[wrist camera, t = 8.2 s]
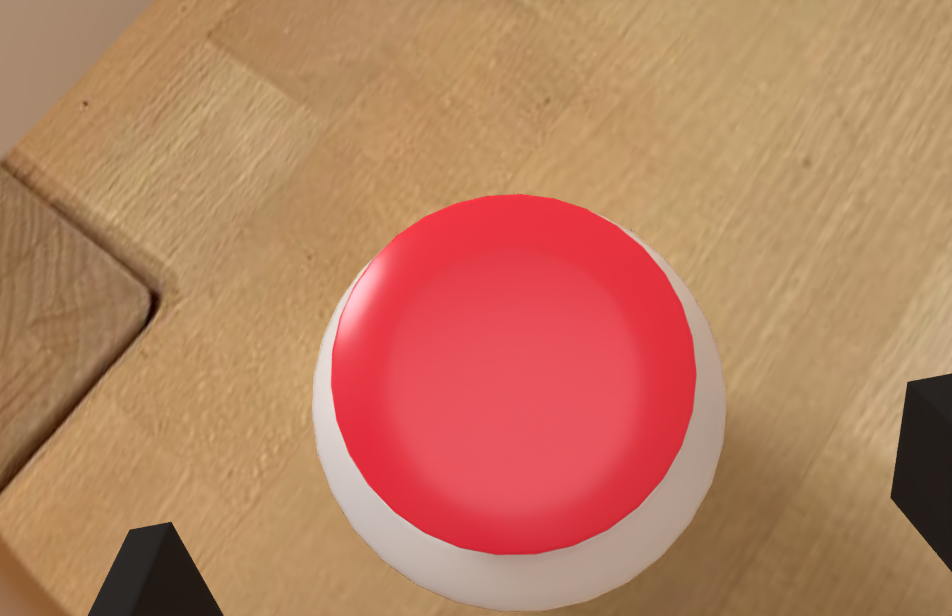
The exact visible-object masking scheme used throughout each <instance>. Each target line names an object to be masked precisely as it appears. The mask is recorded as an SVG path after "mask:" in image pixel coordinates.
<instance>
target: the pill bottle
mask: <svg viewBox="0 0 952 616" xmlns="http://www.w3.org/2000/svg"><path fill="white" fill-rule="evenodd" d="M726 408H727V400H726V391H725V383H724V374H723V366H722V360H721V357H720V354H719V351H718V348H717V344H716V341H715V338H714V335H713V332H712V329H711V326H710V323H709V321H708V319H707V317H706V316H705V314H704V312H703V310H702V308H701V307H700V305H699V303H698V301H697V300H696V298H695V296H694V294H693V292H692V291H691V289H690V287H689V286H688V285H687V284H686V282H685V281H684V280H683V279H682V278H681V277H680V275H679V274H678V273H677V272H676V271H675V269H674V268H673V267H672V266H671V265H670V264H669V262H668V261H667V260H666V259H665V258H664V257H663V256H662V255H661V254H659V253H658V252H657V251H656V250H655V249H653V248H652V247H651V246H650V245H648V244H647V243H646V242H645V241H643V240H642V239H641V238H640V237H639V236H637V235H636V234H635V233H633V232H631V231H630V230H628V229H626V228H624V227H622V226H620V225H619V224H617V223H615V222H613V221H611V220H609V219H607V218H606V217H604V216H602V215H600V214H597V213H594V212H591V211H589V210H587V209H585V208H582V207H579V206H576V205H573V204H569V203H566V202H563V201H560V200H557V199H554V198H546V197H538V196H530V195H523V194H516V195H497V196H485V197H481V198H477V199H473V200H468V201H464V202H460V203H456V204H453V205H451V206H449V207H446V208H444V209H442V210H439V211H437V212H435V213H433V214H430V215H428V216H426V217H424V218H422V219H421V220H419V221H418V222H416V223H415V224H413V225H412V226H410V227H409V228H407V229H406V230H405V231H403V232H402V233H400V234H399V235H397V236H396V237H395V238H394V239H393V240H392V241H391V242H390V243H389V244H387V245H386V246H385V247H384V248H383V249H382V250H381V251H380V252H379V253H378V254H377V255H376V256H375V257H374V258H373V259H372V260H371V261H370V262H369V263H368V264H367V265H366V266H365V267H364V268H363V269H362V270H361V271H360V272H359V274H358V275H357V276H356V278H355V279H354V281H353V282H352V284H351V285H350V286H349V288H348V289H347V291H346V292H345V294H344V295H343V296H342V298H341V299H340V301H339V302H338V304H337V307H336V309H335V311H334V313H333V316H332V318H331V320H330V322H329V324H328V327H327V329H326V331H325V333H324V336H323V338H322V342H321V347H320V351H319V355H318V359H317V363H316V367H315V372H314V379H313V402H312V418H313V425H314V432H315V438H316V445H317V451H318V456H319V459H320V462H321V464H322V467H323V470H324V473H325V476H326V478H327V481H328V484H329V487H330V489H331V492H332V495H333V496H334V498H335V500H336V501H337V503H338V504H339V506H340V508H341V509H342V511H343V513H344V514H345V516H346V518H347V519H348V521H349V523H350V524H351V526H352V528H353V529H354V530H355V532H356V533H357V534H358V535H359V536H360V537H361V538H362V539H363V540H364V541H365V542H366V543H367V544H368V546H369V547H370V548H371V549H372V550H373V551H374V552H375V553H376V554H377V555H378V556H379V557H380V559H381V560H382V561H384V562H385V563H386V564H388V565H389V566H391V567H392V568H393V569H395V570H396V571H398V572H399V573H400V574H402V575H403V576H405V577H406V578H407V579H409V580H410V581H412V582H413V583H415V584H416V585H417V586H420V587H422V588H424V589H426V590H429V591H431V592H433V593H436V594H438V595H440V596H442V597H445V598H447V599H449V600H452V601H454V602H456V603H460V604H465V605H469V606H474V607H479V608H484V609H489V610H494V611H499V612H535V611H548V610H553V609H557V608H562V607H566V606H570V605H575V604H579V603H584V602H588V601H590V600H592V599H594V598H596V597H598V596H601V595H603V594H605V593H607V592H609V591H611V590H614V589H616V588H618V587H620V586H622V585H624V584H626V583H628V582H629V581H631V580H632V579H633V578H635V577H636V576H637V575H639V574H640V573H641V572H643V571H644V570H645V569H647V568H648V567H649V566H651V565H652V564H653V563H654V562H656V561H657V560H658V559H660V558H661V557H662V556H663V555H664V554H665V553H666V552H667V550H668V549H669V548H670V547H671V546H672V545H673V543H674V542H675V541H676V540H677V539H678V538H679V537H680V535H681V534H682V533H683V532H684V531H685V530H686V528H687V527H688V526H689V525H690V524H691V522H692V520H693V518H694V516H695V515H696V513H697V511H698V509H699V507H700V505H701V504H702V502H703V500H704V498H705V496H706V494H707V493H708V491H709V489H710V487H711V485H712V481H713V478H714V475H715V471H716V468H717V465H718V461H719V458H720V455H721V451H722V448H723V442H724V431H725V419H726Z"/></svg>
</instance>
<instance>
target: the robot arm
mask: <svg viewBox="0 0 952 616" xmlns="http://www.w3.org/2000/svg"><path fill="white" fill-rule="evenodd" d="M891 499H892V500H893V501H894V503H895V504H896V505H897V506H898V507H899V509H900V510H901V511H902V512H903V513H904V515H905V516H906V517H907V518H908V519H909V521H910V522H911V523H912V524H913V526H914V527H915V528H916V529H917V530H918V532H919V533H920V534H921V535H922V536H923V538H924V539H925V540H926V541H927V543H928V544H929V545H930V546H931V547H932V549H933V550H934V551H935V552H936V553H937V555H938V556H939V557H940V558H941V559H942V561H943V562H944V563H945V564H946V566H947V567H948V568H949V569H950V570H951V572H952V374H947V375H942V376H936V377H931V378H926V379H921V380H915V381H910V382H907V389H906V396H905V403H904V409H903V416H902V423H901V430H900V437H899V443H898V450H897V457H896V464H895V471H894V477H893V484H892V491H891ZM88 616H224V615H223V614H222V612H221V610H220V608H219V606H218V605H217V603H216V601H215V599H214V598H213V596H212V594H211V592H210V590H209V589H208V587H207V585H206V583H205V581H204V580H203V578H202V576H201V574H200V573H199V571H198V569H197V567H196V565H195V564H194V562H193V560H192V558H191V556H190V555H189V553H188V551H187V549H186V548H185V546H184V544H183V542H182V540H181V539H180V537H179V535H178V533H177V531H176V530H175V528H174V526H173V524H172V523H171V522H168V523H163V524H158V525H152V526H147V527H142V528H137V529H131V530H129V532H128V534H127V536H126V538H125V540H124V542H123V544H122V547H121V549H120V551H119V553H118V555H117V557H116V559H115V561H114V563H113V565H112V567H111V569H110V571H109V573H108V575H107V577H106V579H105V581H104V583H103V585H102V587H101V590H100V592H99V594H98V596H97V598H96V600H95V602H94V604H93V606H92V608H91V610H90V612H89V614H88Z"/></svg>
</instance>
